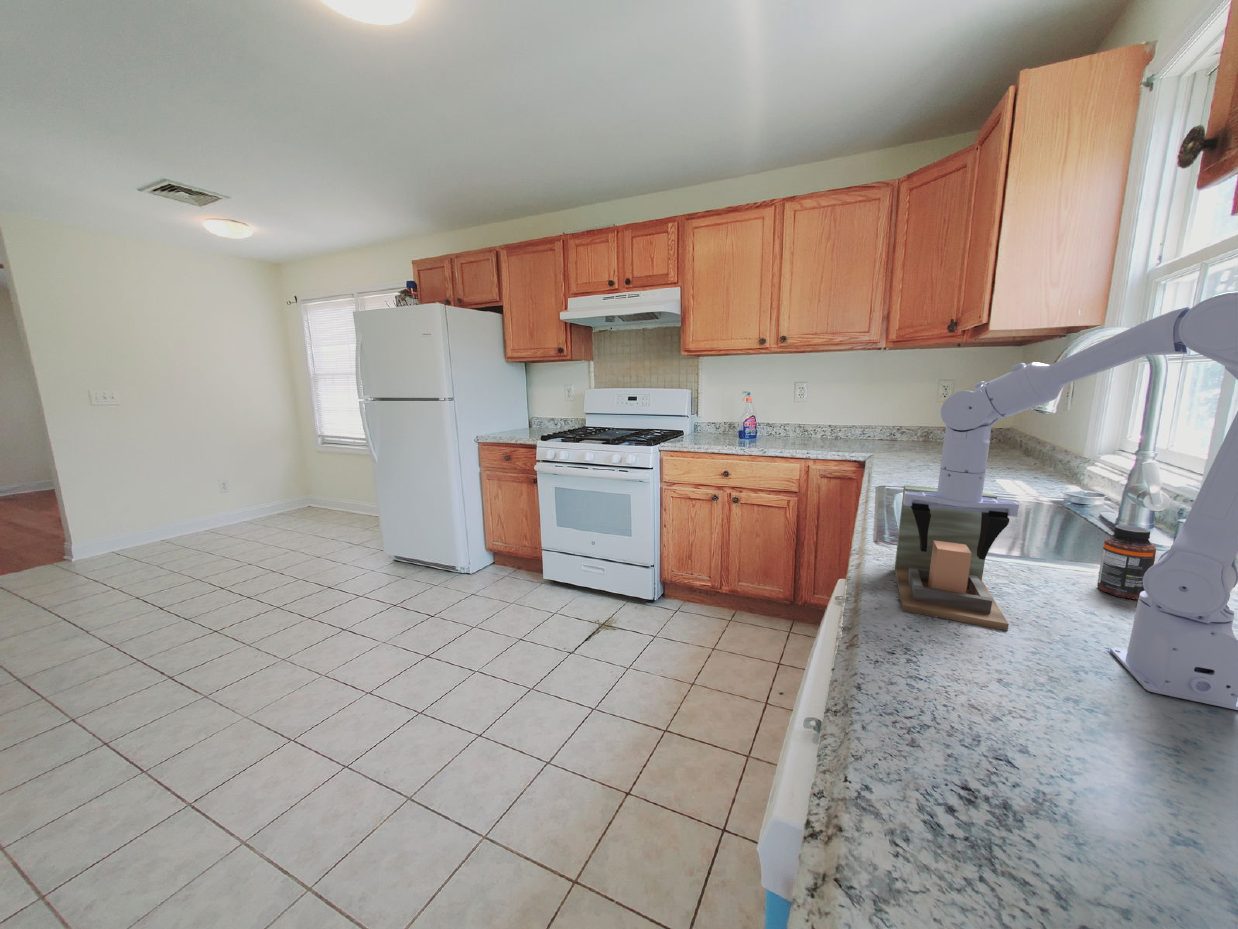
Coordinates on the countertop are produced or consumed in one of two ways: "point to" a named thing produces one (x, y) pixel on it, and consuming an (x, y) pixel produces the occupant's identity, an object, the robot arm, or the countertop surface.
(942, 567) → the peg
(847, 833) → the countertop surface
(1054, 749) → the countertop surface
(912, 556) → the socket stand
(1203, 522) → the robot arm
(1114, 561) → the supplement bottle
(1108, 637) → the countertop surface
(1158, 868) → the countertop surface
